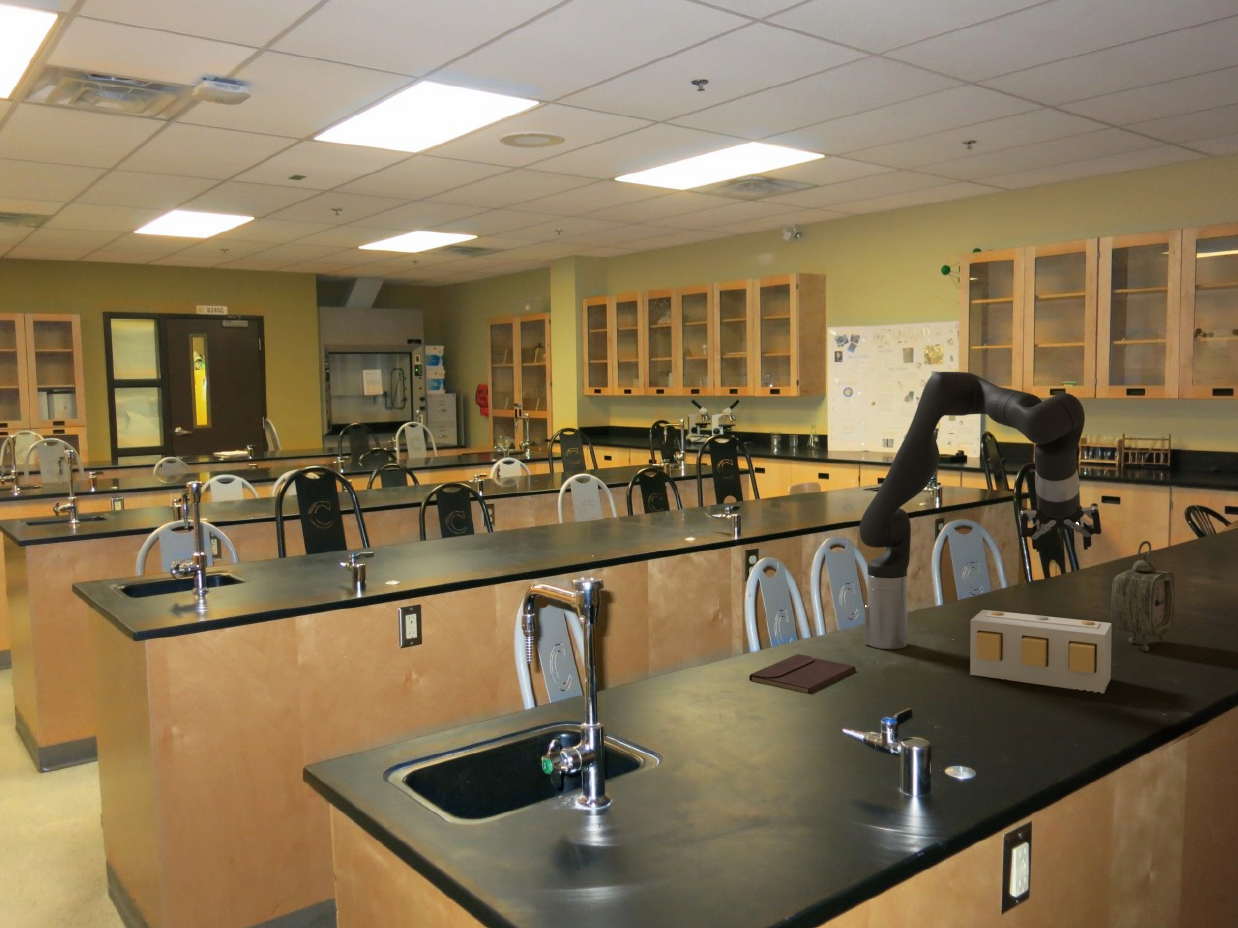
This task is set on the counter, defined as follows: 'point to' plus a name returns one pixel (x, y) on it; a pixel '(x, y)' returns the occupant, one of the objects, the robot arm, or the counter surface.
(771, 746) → the counter surface
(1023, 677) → the button console
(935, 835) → the counter surface
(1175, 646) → the counter surface
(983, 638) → the button
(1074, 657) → the button
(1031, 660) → the middle button
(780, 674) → the notebook
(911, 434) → the robot arm
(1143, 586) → the tabletop clock
